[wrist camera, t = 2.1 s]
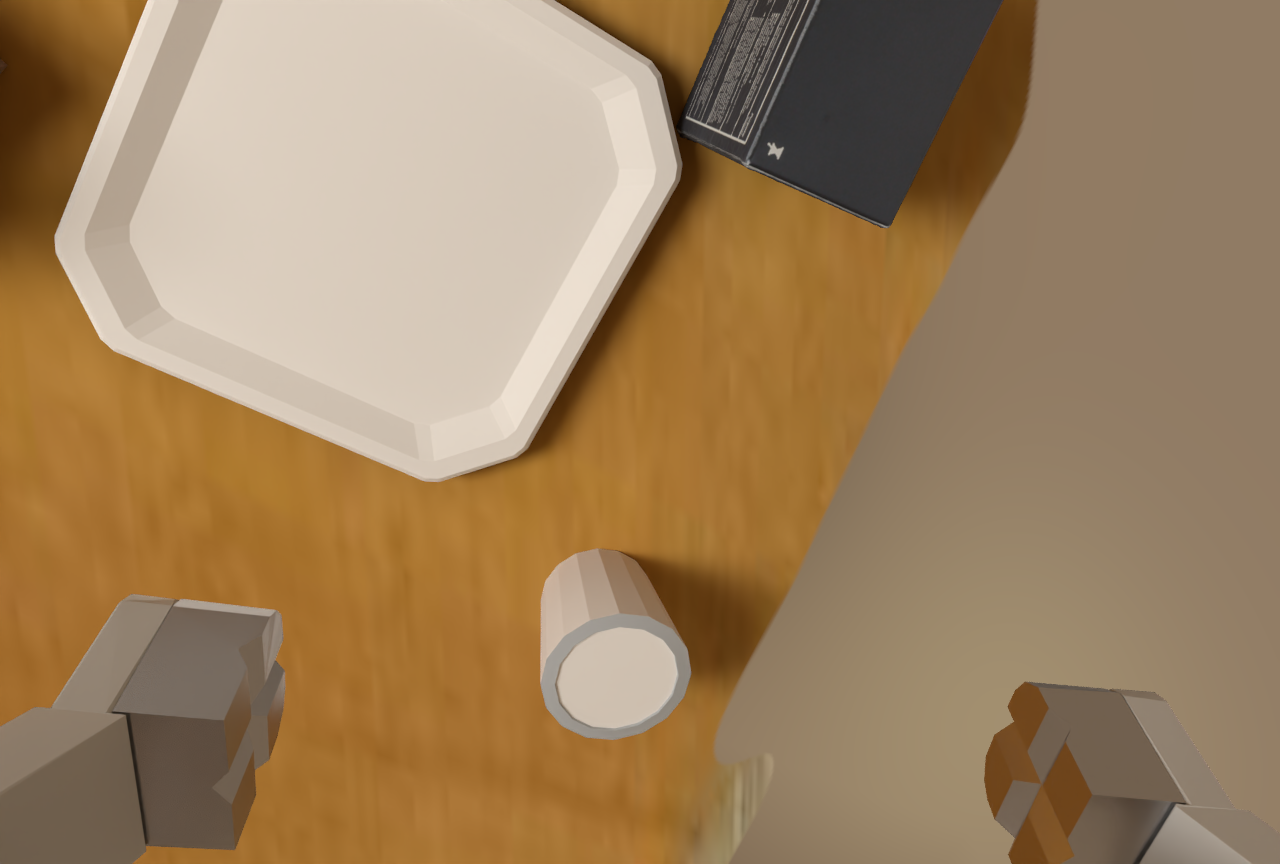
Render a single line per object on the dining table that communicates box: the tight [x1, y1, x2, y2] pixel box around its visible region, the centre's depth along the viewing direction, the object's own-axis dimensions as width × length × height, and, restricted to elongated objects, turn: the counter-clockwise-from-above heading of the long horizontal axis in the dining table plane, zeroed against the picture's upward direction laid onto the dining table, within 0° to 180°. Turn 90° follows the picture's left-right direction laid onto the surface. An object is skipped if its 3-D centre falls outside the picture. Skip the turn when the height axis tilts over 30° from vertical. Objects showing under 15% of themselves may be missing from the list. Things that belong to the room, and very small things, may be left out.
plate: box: [54, 0, 682, 482], centre depth 42 cm, size 21×21×2 cm
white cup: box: [541, 548, 691, 740], centre depth 48 cm, size 7×7×7 cm
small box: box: [676, 0, 1003, 228], centre depth 38 cm, size 11×6×10 cm, turn 156°
